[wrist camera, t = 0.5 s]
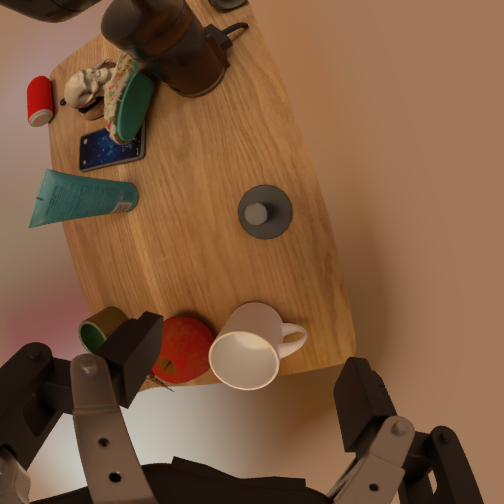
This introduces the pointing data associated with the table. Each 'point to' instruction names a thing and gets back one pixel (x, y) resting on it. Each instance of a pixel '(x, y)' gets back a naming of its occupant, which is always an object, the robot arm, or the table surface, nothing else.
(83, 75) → the skull figurine
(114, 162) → the smartphone
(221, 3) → the soda can
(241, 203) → the lid
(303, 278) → the table surface
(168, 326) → the apple
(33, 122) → the beverage can
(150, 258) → the table surface
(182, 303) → the table surface
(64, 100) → the knife
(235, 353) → the mug
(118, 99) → the ballet flat
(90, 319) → the pot
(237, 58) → the table surface
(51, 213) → the tube
